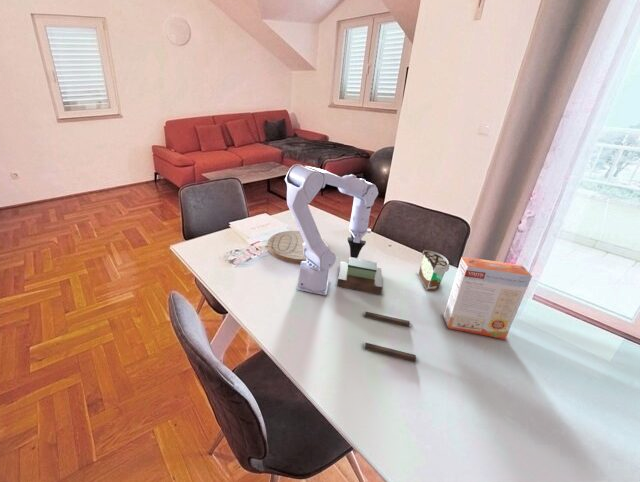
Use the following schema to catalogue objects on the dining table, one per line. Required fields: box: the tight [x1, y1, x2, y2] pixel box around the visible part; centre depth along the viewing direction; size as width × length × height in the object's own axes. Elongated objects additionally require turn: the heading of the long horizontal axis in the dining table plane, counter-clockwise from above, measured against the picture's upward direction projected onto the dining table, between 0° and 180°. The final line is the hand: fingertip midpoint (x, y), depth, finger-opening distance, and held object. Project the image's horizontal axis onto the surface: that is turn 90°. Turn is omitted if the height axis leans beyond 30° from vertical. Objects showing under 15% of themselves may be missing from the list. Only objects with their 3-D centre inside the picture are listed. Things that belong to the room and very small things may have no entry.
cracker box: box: [443, 256, 533, 340], centre depth 86 cm, size 14×6×21 cm, turn 71°
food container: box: [417, 249, 450, 291], centre depth 107 cm, size 12×6×10 cm, turn 168°
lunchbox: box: [347, 257, 378, 280], centre depth 109 cm, size 9×5×4 cm, turn 70°
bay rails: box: [364, 311, 417, 362], centre depth 87 cm, size 12×14×1 cm
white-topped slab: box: [337, 260, 383, 295], centre depth 110 cm, size 14×12×3 cm
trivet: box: [267, 230, 329, 265], centre depth 132 cm, size 25×25×2 cm
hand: (354, 251), depth 110 cm, fingers open, 7 cm apart
